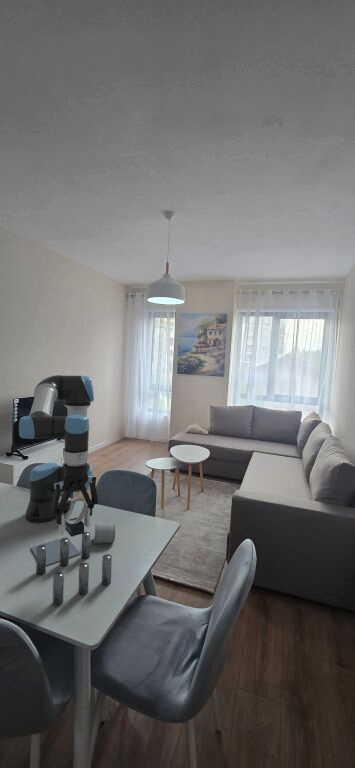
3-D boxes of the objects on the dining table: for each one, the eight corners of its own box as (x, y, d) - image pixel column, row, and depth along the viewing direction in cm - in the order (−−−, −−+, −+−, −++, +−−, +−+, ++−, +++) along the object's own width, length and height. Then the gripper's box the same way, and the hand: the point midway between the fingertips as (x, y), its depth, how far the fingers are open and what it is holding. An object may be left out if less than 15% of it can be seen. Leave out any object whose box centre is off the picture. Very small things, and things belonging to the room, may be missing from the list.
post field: (35, 571, 115) (35, 546, 115) (87, 553, 127) (88, 531, 126) (54, 607, 100) (55, 579, 99) (112, 583, 112) (113, 557, 111)
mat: (30, 548, 129) (30, 547, 129) (66, 537, 137) (66, 536, 137) (41, 567, 118) (41, 566, 118) (80, 554, 126) (80, 553, 126)
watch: (59, 530, 112) (60, 499, 111) (82, 524, 117) (83, 493, 116) (65, 538, 107) (66, 505, 106) (89, 531, 112) (90, 500, 111)
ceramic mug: (115, 546, 133) (115, 527, 133) (93, 547, 131) (94, 528, 131) (114, 532, 143) (115, 515, 143) (94, 533, 142) (95, 516, 141)
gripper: (47, 471, 101) (45, 544, 103) (110, 460, 114) (108, 525, 116) (39, 464, 106) (38, 533, 108) (100, 454, 119) (98, 516, 121)
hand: (74, 529), depth 112 cm, fingers closed on watch, 8 cm apart
